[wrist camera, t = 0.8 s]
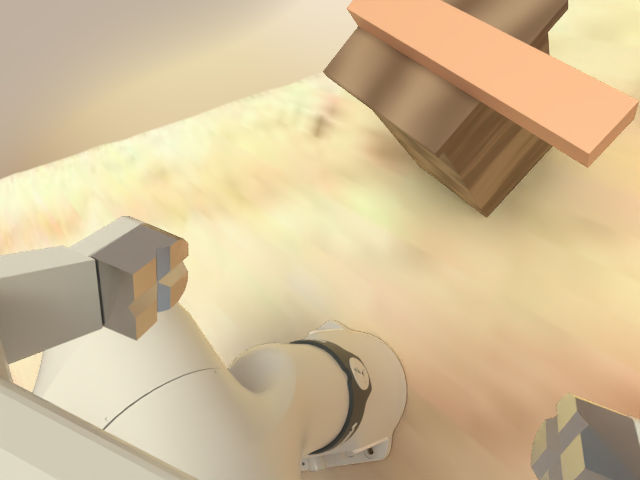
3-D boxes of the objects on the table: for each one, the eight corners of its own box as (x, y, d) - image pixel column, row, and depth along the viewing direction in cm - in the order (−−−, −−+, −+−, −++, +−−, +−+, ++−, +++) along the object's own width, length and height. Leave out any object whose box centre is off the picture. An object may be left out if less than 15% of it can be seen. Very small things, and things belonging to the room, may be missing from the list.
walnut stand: (568, 140, 55) (568, 0, 33) (487, 228, 57) (434, 153, 35) (478, 86, 62) (426, -61, 39) (408, 167, 64) (322, 71, 42)
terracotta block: (633, 118, 29) (638, 100, 27) (587, 167, 30) (589, 153, 28) (387, -12, 40) (377, -32, 38) (358, 26, 41) (346, 8, 39)
